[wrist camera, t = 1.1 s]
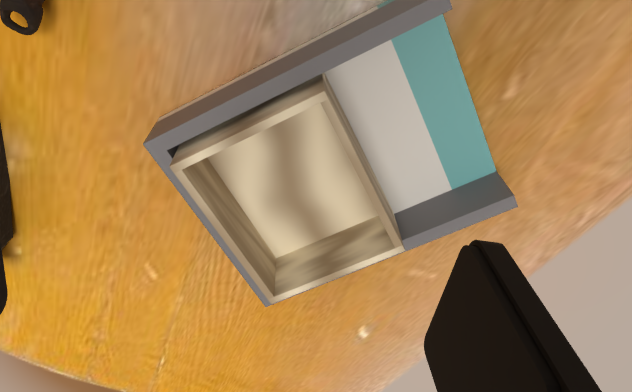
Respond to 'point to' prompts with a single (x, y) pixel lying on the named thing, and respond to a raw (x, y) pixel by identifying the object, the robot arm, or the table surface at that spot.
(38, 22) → the wrench
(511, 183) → the table surface
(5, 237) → the hammer
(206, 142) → the crate
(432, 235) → the bay
